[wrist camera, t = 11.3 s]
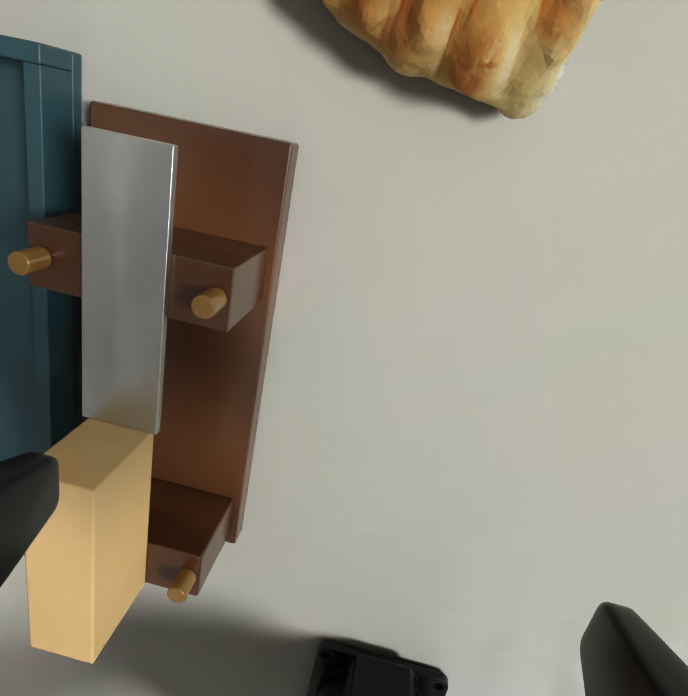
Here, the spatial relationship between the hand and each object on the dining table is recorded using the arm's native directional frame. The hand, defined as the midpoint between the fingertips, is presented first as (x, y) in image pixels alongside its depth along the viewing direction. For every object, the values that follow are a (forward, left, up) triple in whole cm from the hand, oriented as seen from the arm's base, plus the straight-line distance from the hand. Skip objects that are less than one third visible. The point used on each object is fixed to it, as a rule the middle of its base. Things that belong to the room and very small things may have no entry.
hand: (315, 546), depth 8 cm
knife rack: (-3, +7, -12) cm, 14 cm away
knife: (-3, +7, -8) cm, 11 cm away
